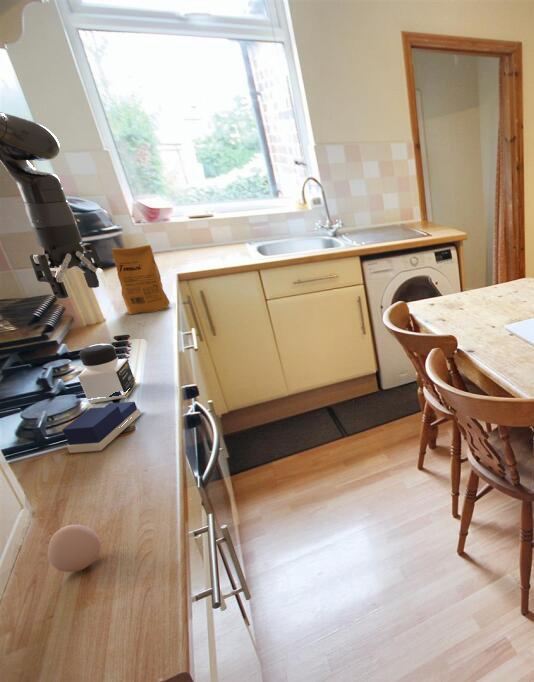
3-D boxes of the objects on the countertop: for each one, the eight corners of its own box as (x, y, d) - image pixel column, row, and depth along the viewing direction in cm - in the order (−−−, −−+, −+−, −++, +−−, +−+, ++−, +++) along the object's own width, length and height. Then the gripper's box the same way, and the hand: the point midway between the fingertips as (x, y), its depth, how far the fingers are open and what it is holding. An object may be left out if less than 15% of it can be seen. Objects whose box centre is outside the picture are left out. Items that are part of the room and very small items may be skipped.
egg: (56, 588, 61) (34, 550, 58) (61, 562, 65) (41, 525, 62) (106, 569, 64) (87, 532, 61) (108, 545, 68) (91, 509, 65)
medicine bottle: (127, 398, 107) (108, 350, 102) (88, 404, 104) (68, 355, 100) (137, 384, 113) (120, 338, 108) (100, 389, 110) (82, 343, 106)
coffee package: (130, 307, 165) (109, 245, 156) (172, 302, 170) (153, 242, 162) (124, 316, 157) (101, 251, 148) (168, 310, 162) (149, 247, 154)
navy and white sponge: (101, 450, 89) (91, 428, 87) (69, 453, 88) (59, 430, 86) (141, 414, 100) (133, 394, 98) (114, 416, 100) (105, 395, 98)
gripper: (65, 218, 110) (88, 284, 116) (4, 227, 97) (34, 301, 103) (96, 218, 110) (118, 284, 116) (40, 227, 97) (68, 301, 103)
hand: (78, 292), depth 110 cm, fingers open, 8 cm apart
